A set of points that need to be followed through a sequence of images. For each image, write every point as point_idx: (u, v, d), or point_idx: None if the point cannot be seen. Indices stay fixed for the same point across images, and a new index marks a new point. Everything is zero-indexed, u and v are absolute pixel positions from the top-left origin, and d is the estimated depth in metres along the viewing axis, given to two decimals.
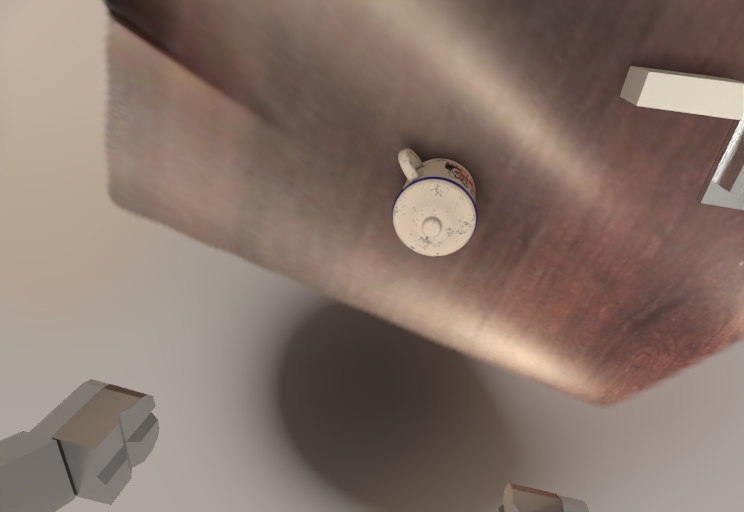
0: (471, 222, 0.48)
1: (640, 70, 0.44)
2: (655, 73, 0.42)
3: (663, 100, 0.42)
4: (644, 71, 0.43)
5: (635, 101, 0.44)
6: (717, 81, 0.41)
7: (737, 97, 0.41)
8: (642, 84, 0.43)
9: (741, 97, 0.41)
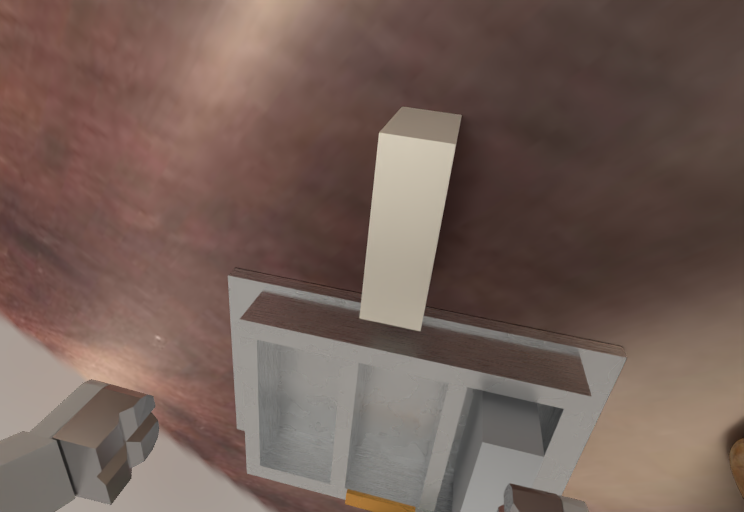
0: None
1: (455, 130, 0.20)
2: (450, 159, 0.18)
3: (391, 187, 0.19)
4: (454, 136, 0.19)
5: (388, 129, 0.19)
6: (429, 273, 0.20)
7: (400, 308, 0.21)
8: (427, 136, 0.18)
9: (399, 313, 0.22)
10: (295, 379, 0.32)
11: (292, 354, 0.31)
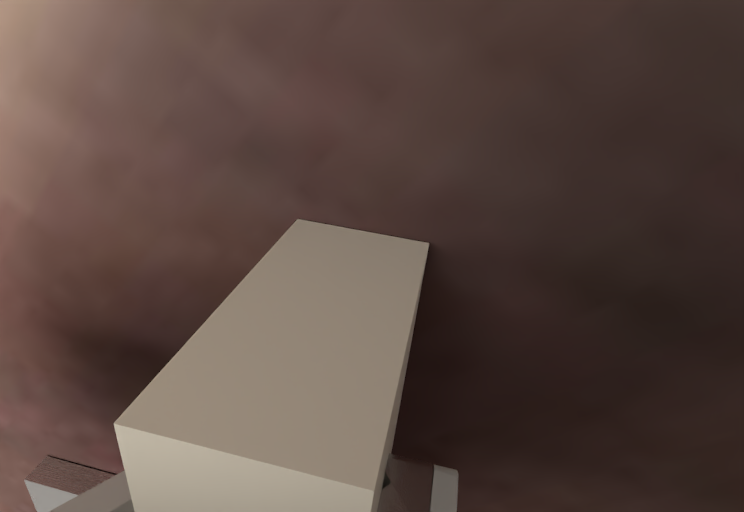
0: None
1: (398, 343, 0.07)
2: None
3: None
4: (385, 405, 0.06)
5: (172, 381, 0.06)
6: None
7: None
8: (289, 421, 0.05)
9: None
10: None
11: None
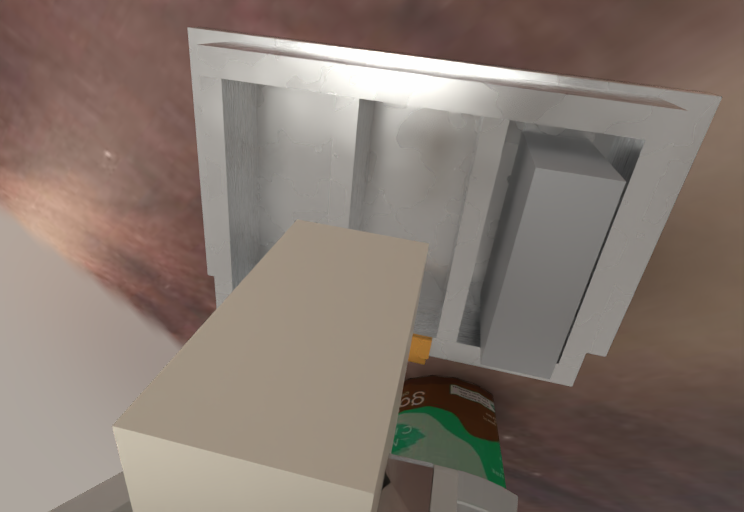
0: None
1: (397, 344, 0.07)
2: None
3: None
4: (384, 407, 0.06)
5: (171, 383, 0.06)
6: None
7: None
8: (288, 423, 0.05)
9: None
10: (278, 188, 0.25)
11: (273, 149, 0.24)
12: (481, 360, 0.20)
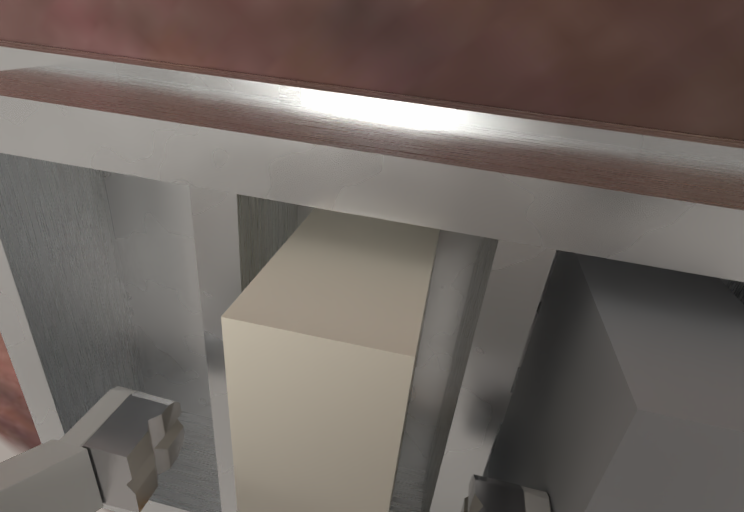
0: None
1: (424, 272, 0.09)
2: (404, 386, 0.07)
3: (270, 425, 0.08)
4: (417, 310, 0.08)
5: (257, 293, 0.08)
6: None
7: None
8: (348, 318, 0.07)
9: None
10: (157, 301, 0.15)
11: (141, 242, 0.14)
12: None
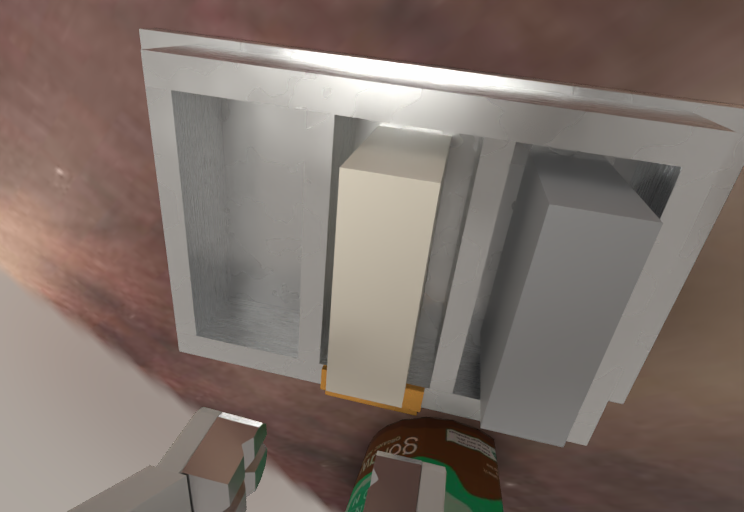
0: None
1: (442, 159, 0.15)
2: (434, 202, 0.13)
3: (358, 236, 0.15)
4: (440, 170, 0.14)
5: (353, 161, 0.14)
6: (410, 341, 0.16)
7: (375, 380, 0.17)
8: (404, 171, 0.14)
9: (374, 387, 0.17)
10: (249, 213, 0.22)
11: (243, 168, 0.21)
12: (480, 422, 0.17)
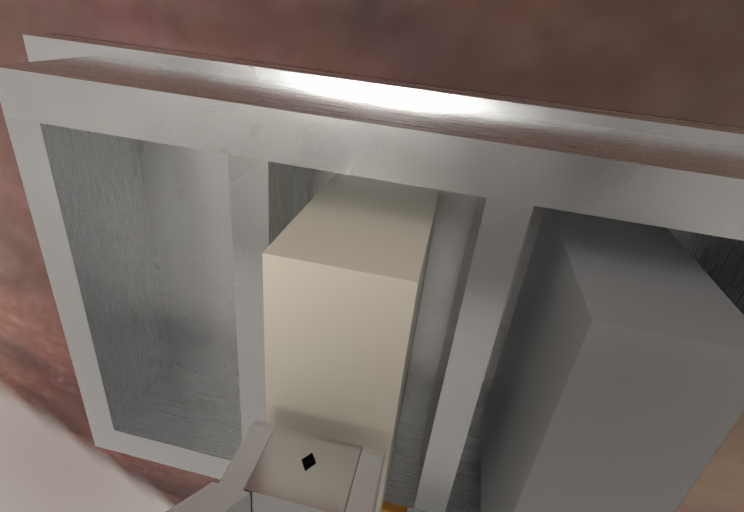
0: None
1: (425, 227, 0.10)
2: (409, 308, 0.09)
3: (298, 348, 0.10)
4: (420, 252, 0.09)
5: (289, 238, 0.09)
6: (380, 485, 0.11)
7: None
8: (363, 256, 0.09)
9: None
10: (183, 270, 0.17)
11: (171, 215, 0.16)
12: None
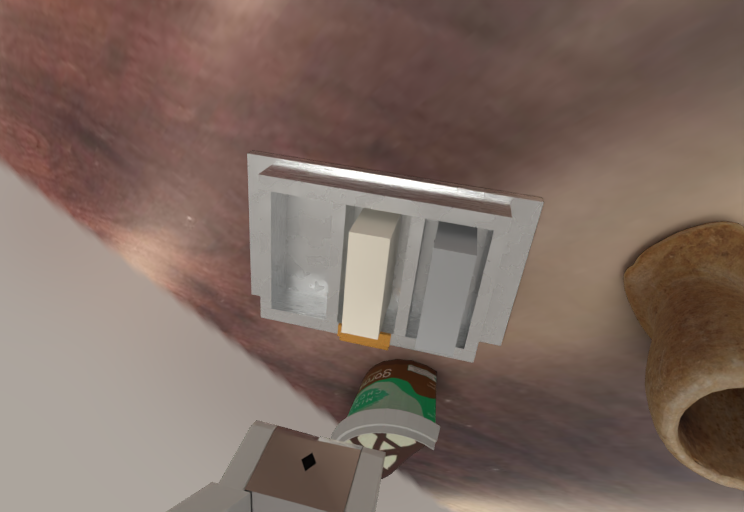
0: None
1: (394, 224, 0.34)
2: (388, 246, 0.33)
3: (356, 259, 0.34)
4: (391, 231, 0.33)
5: (354, 227, 0.33)
6: (380, 306, 0.35)
7: (365, 326, 0.36)
8: (376, 232, 0.33)
9: (364, 329, 0.36)
10: (298, 243, 0.41)
11: (296, 220, 0.40)
12: (415, 346, 0.36)
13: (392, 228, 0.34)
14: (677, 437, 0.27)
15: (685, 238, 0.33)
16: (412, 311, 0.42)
